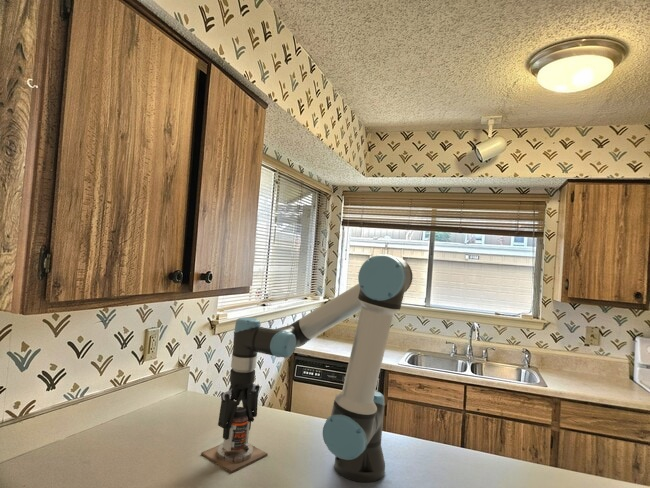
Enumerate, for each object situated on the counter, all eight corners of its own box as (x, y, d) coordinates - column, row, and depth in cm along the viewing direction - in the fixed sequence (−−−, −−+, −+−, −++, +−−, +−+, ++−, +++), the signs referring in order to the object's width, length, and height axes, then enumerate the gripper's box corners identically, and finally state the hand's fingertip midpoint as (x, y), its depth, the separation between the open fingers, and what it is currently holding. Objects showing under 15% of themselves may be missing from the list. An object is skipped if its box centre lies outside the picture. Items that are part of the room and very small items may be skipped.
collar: (259, 453, 117) (260, 449, 117) (232, 466, 108) (232, 462, 108) (237, 441, 123) (237, 437, 123) (209, 452, 115) (210, 448, 115)
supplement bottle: (234, 453, 112) (237, 414, 112) (221, 446, 115) (224, 408, 116) (249, 446, 116) (253, 409, 117) (236, 439, 120) (240, 403, 120)
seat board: (267, 455, 117) (267, 453, 117) (231, 473, 106) (231, 471, 106) (237, 439, 125) (237, 437, 125) (201, 454, 114) (201, 452, 114)
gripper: (257, 361, 127) (250, 431, 126) (209, 371, 112) (201, 451, 111) (273, 366, 122) (266, 439, 121) (226, 377, 107) (217, 461, 106)
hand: (235, 445), depth 116 cm, fingers closed on supplement bottle, 6 cm apart
